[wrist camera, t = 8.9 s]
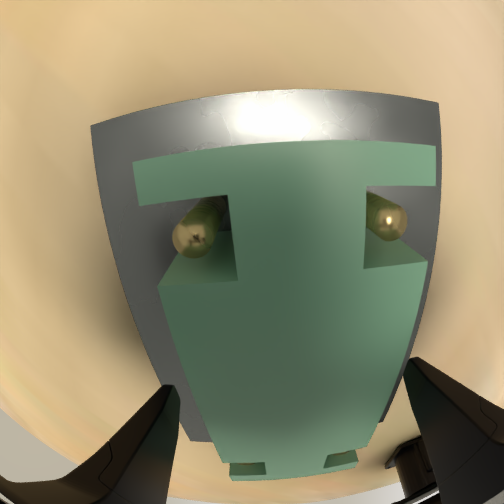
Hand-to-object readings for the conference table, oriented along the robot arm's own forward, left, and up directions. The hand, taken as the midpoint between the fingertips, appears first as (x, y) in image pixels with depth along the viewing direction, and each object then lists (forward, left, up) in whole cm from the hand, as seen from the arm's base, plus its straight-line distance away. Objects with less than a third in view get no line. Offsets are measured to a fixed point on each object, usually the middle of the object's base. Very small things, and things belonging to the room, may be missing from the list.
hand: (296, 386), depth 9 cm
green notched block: (0, 0, -3) cm, 3 cm away
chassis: (0, 0, -4) cm, 4 cm away
